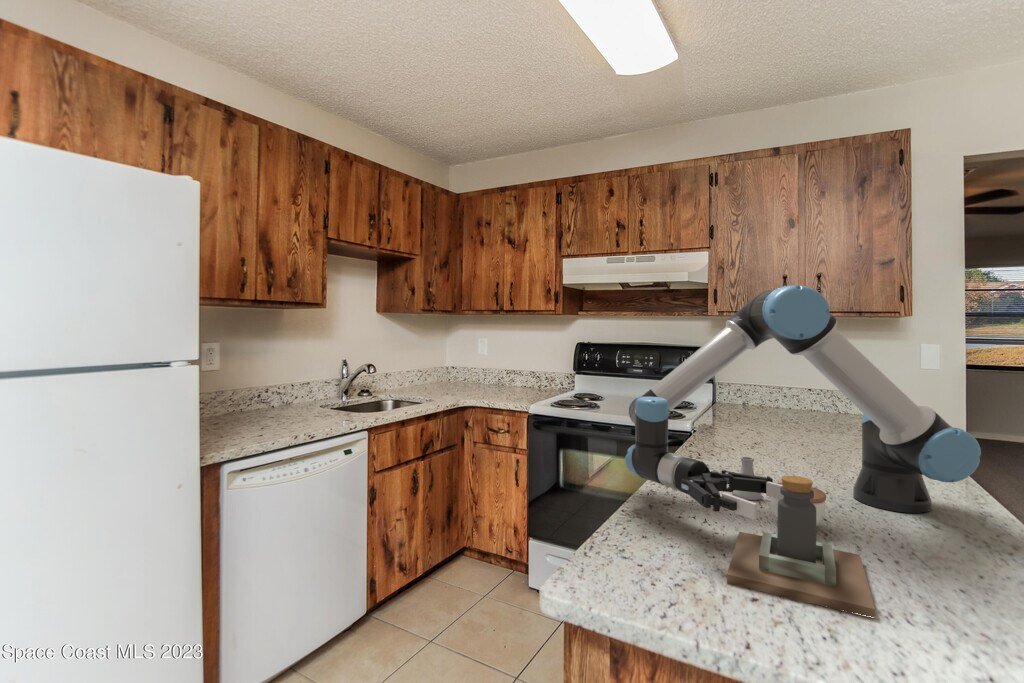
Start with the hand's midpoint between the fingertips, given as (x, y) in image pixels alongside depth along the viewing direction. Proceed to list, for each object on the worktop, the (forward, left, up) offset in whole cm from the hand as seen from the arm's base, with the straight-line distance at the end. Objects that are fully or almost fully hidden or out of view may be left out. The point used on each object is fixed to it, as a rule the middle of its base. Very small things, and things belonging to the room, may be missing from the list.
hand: (779, 504), depth 86 cm
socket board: (-3, +1, -11) cm, 11 cm away
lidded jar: (-3, -23, -11) cm, 26 cm away
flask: (+8, -38, -11) cm, 40 cm away
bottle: (-3, +1, -10) cm, 10 cm away
